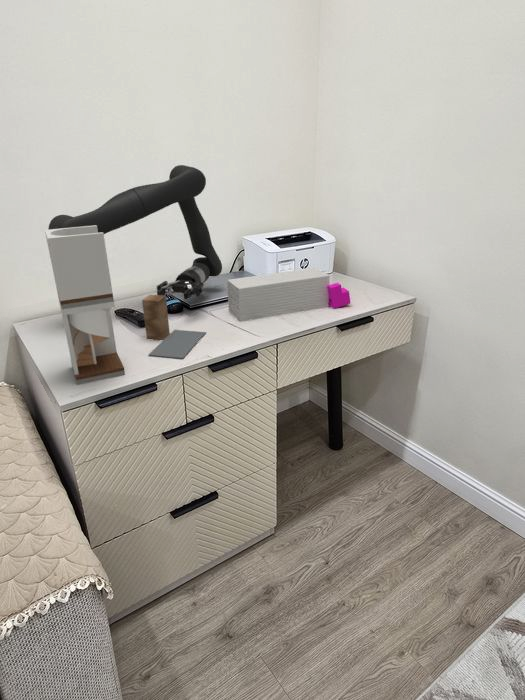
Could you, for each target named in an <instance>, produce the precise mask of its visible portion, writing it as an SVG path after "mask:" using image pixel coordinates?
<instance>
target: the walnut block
mask: <svg viewBox="0 0 525 700" xmlns="http://www.w3.org/2000/svg"><path fill="white" fill-rule="evenodd" d="M166 296H167V295H157V294H148V295H147V296H146V297H144V298H143V299H142V300H141V304H142V312H143V319H144V327H145V328H144V329H145V334H146V335H145V336H146V340H148V339H153V340H152V341H160V340H164V339H165V338H166V337H167V336H168V335H170V334H171V333H170V322H169V315H168V314H169V313H168V306H167V305H168V304H167V297H166Z"/></svg>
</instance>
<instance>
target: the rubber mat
mask: <svg viewBox="0 0 525 700" xmlns="http://www.w3.org/2000/svg"><path fill="white" fill-rule="evenodd" d="M206 334H207V332H206V331H197V330H196V331H194V330H184V329H174V330H173V331H171V333H170V334H169V335H168V336H167V337H166V338H165V339H164V340H163V341H161V342H160V343H159V344H158V345H157V346H156V347H155V348H154V349H152V351H151V352H149V353H148V354H147V355H148V357H153V356H154V357H153V358H155V357H156V358H164V359H165V358H166V359H176V360H184V359H185V358H186V357H187V356H186V355H189V353H190V352H191V351H192V350H193V349H194V348H195V347H196V345H197V344H198V343H199V342H200V341H201V340H202V339H201V338H204V337H205V335H206ZM200 339H201V340H200ZM199 340H200V341H199ZM198 341H199V342H198ZM197 342H198V343H197ZM194 346H195V347H194ZM193 347H194V348H193ZM192 348H193V349H192ZM185 356H186V357H185Z"/></svg>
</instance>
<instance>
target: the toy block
mask: <svg viewBox="0 0 525 700" xmlns="http://www.w3.org/2000/svg"><path fill="white" fill-rule="evenodd" d="M327 289H328V296H329V303H328V304H329V306H330V308H332V309H334V310H335V309H337V308H340V307H344V306H346V305H349V304H350V305H351V295H350V290H348V289H347V288H346V287H344V286H343V287H342V284H341V283H339V282H335V283H332V284H329V285H328V286H327ZM329 306H328V307H329Z"/></svg>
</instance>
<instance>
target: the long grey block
mask: <svg viewBox="0 0 525 700" xmlns="http://www.w3.org/2000/svg"><path fill="white" fill-rule="evenodd" d="M330 278H331V277H330V274H327V273H325V272H323V271H321V270H320V269H316V268H315V267H311V268H305V269H303V268H302V269H296V270H295V269H294V270H290V271H283V272H274V273H268V274H267V273H266V274H261V275H253V276H246V277H245V276H244V277H238V278H233V279H232V278H230V279H227V280H226V282H227V283H226V286H227V303H228V304H227V307H228V312H229V311H230V312H231V313H232V314H231V315H232V316H233V317H235V318H236V319H237V321H239V322H245V321H250V320H251V321H252V320H256V319H261V318H267V317H269V318H270V317H273V316H280V315H286V314H291V313H297V312H303V311H309V310H314V309H320V308H325V307H329V304H328V303H329V296H328V289H327V286H328V285H330V282H331V281H330V280H331V279H330ZM230 312H229V313H230Z"/></svg>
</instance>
